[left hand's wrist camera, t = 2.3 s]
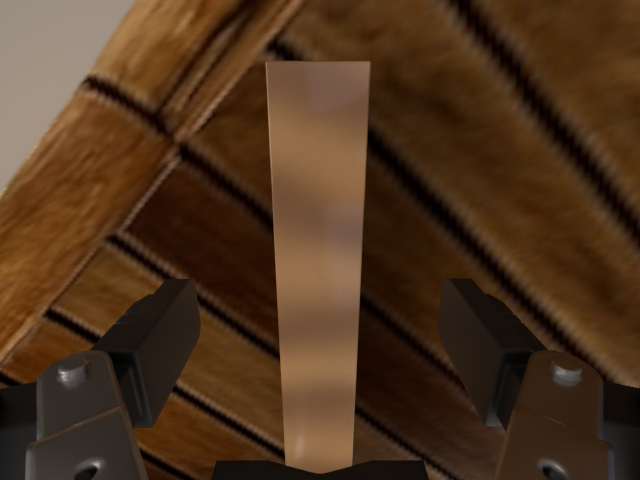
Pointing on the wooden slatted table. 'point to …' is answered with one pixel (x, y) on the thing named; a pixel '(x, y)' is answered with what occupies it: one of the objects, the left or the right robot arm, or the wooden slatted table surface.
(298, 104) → the beam
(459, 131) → the wooden slatted table surface
